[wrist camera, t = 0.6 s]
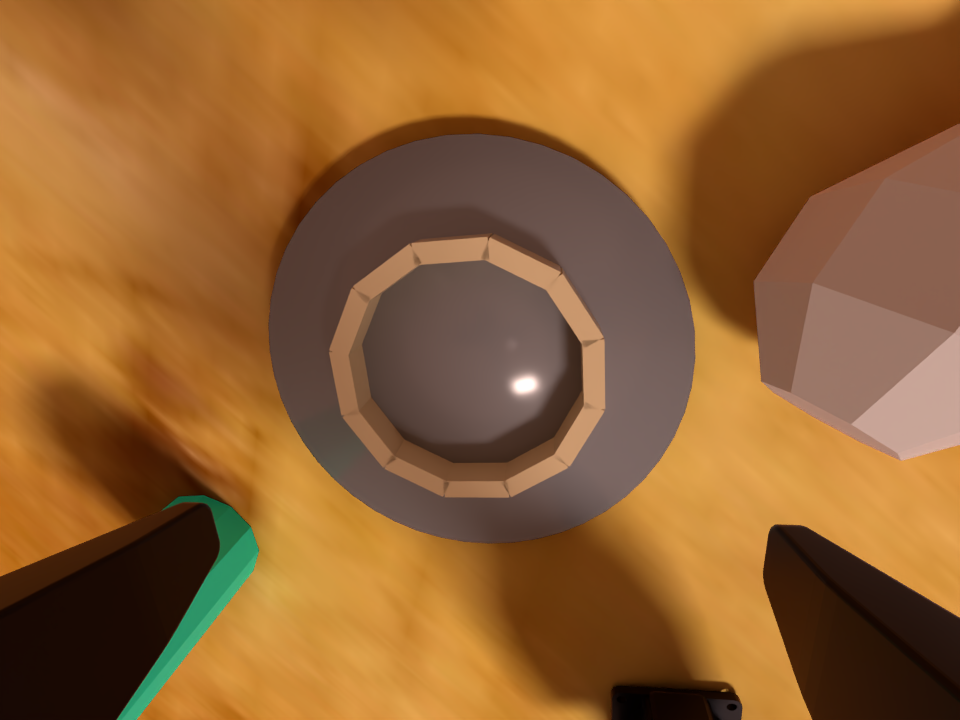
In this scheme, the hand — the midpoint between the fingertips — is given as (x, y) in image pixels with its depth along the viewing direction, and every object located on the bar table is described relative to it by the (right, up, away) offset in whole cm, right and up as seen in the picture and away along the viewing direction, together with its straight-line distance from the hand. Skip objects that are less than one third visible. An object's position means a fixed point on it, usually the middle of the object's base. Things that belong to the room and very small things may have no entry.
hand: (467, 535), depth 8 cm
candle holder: (0, +3, +14) cm, 14 cm away
